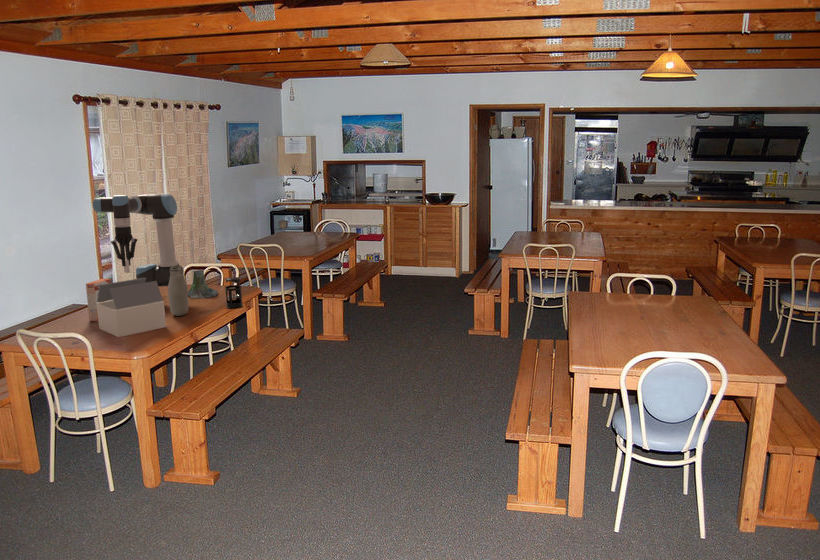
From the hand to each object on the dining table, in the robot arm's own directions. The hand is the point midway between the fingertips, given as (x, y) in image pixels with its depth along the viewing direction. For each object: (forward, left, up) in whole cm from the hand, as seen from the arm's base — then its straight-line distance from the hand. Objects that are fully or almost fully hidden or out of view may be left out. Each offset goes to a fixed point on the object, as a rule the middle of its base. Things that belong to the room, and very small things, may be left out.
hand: (127, 272), depth 350 cm
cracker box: (+3, -31, -30) cm, 43 cm away
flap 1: (0, -9, -11) cm, 14 cm away
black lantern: (-60, +1, -30) cm, 67 cm away
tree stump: (-63, -42, -30) cm, 81 cm away
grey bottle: (-29, -5, -30) cm, 42 cm away
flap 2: (0, +8, -11) cm, 13 cm away
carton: (0, 0, -29) cm, 29 cm away
